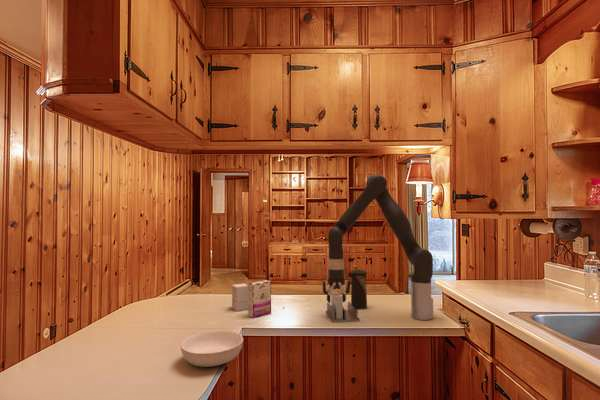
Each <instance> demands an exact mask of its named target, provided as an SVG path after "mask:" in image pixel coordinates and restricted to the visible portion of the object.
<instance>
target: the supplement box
mask: <svg viewBox="0 0 600 400" xmlns="http://www.w3.org/2000/svg"><path fill="white" fill-rule="evenodd" d="M231 309H233V310H234V311H235V310H236V312H241V311H248V283H247V284H246V283H236V284H232V285H231Z"/></svg>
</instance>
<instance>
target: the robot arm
mask: <svg viewBox="0 0 600 400" xmlns="http://www.w3.org/2000/svg"><path fill="white" fill-rule="evenodd" d="M387 186H388V181H387V179H386V178H385V177H384V175H381V174H372V175H369V176H368V177H367V179H366V182H365V188H364V189H363V191H362V192H361V194H360V195H358V197H357V198H356V199H355V200H354V201H353V202H352V203H351V204H350V205H349V206H348V207H347V209H346V210H345V211H344V212H343V214H342V215H340V216H339V217H340V218H339V219H338V221H337V222H336V223H335V224H334V225H333V226H332V228H330V229H329V231H328V233H327V235H328V236H327V237H328V238H327V239H328V265H327V266H328V268H327V269H328V278H327V280H321V284H322V285H321V286H322V293H323V294H324V295H326V301H327V303H329V304H331V291H334V290H340V291H341V292H342V293H341V296H342V298H343V303H345V302H346V300H347V294H349V293H351V291H350V290H351V281H350V280H349V279H347V280H346V279H345V270H344V268H345V264H344V249H343V238H344V236H345V235H346V233H347V232H348V231H349V229H350V228H351V227H353V225H354V224H355V223H356V222H357V221H358V219H359V218H360V217H361V215H362V214H363V212H364V211H365V210H366V209H367V208H368V206H370V204H372V202H373V201H374V200H375V201H376V203H377V204H378V206H379V208H380V210H381V213H382V214H383V216H384V219H385V221H386V222H387V223H388V226H389V228H390V229H391V230H392V232H393V234H394V235H395V237H396V239H397V240H398V242H399V243H400V244H401V247H402V249H403V250H404V253H405V254H406V255H405V256H406V257H407V259H408V261H409V262H410V264H411V265H412V266H414V267H413V274H411V275H410V289H411V290H410V297H411V298H410V300H411V301H410V302H411V307H410V308H411V310H410V311H411V312H410V313H411V318H413V319H415V320H420V321H428V320H431V319H432V320H434V298H432V278H433V274H434V272H433V271H434V259H433V255H432V253H431V252H430V250H427V249H425V248H422V247H421V246H420V245H419V243H418V242H417V241H416V239H415V236H414V234H413V229H412V225H411V223H410V220H409V218H408V217H407V215H406V213H405V212H404V210H403V209H402V208H401V207H400V205H399V204H398V203H397V202H396V200H395V199H394V198H393V197H392V195H391V194H390V191H389V190H388V187H387ZM327 284H328V285H329V287H328V288H327ZM344 285H346V287H344ZM344 288H345V289H344Z"/></svg>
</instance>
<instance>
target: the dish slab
mask: <svg viewBox="0 0 600 400" xmlns="http://www.w3.org/2000/svg"><path fill="white" fill-rule="evenodd" d="M343 303H344V302H343V298H342V294H340V293H339V292H338V291H337V290H336V291H335V290H332V291H331V293H330V305H331V306H332V308H333V309H334V310H335V317H336V319H343V307H344V306H343Z"/></svg>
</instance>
